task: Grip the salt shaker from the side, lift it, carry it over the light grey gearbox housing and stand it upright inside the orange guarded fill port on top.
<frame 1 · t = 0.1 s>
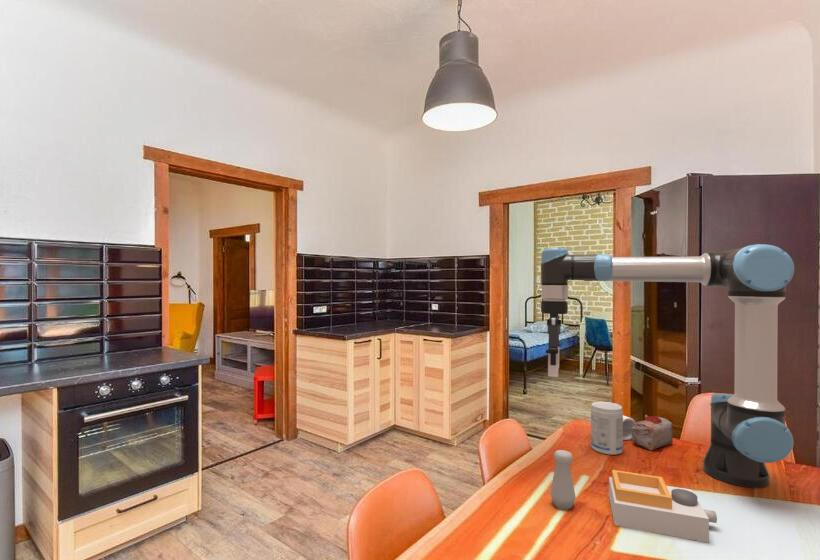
hand: (553, 372, 128), 28 cm above the table, tool pointing down, fingers open, 13 cm apart
supplement tub: (606, 450, 141), on the table
food item: (652, 445, 147), on the table
salt shaker: (562, 506, 106), on the table
mug: (612, 437, 154), on the table
gearbox housing: (654, 517, 101), on the table
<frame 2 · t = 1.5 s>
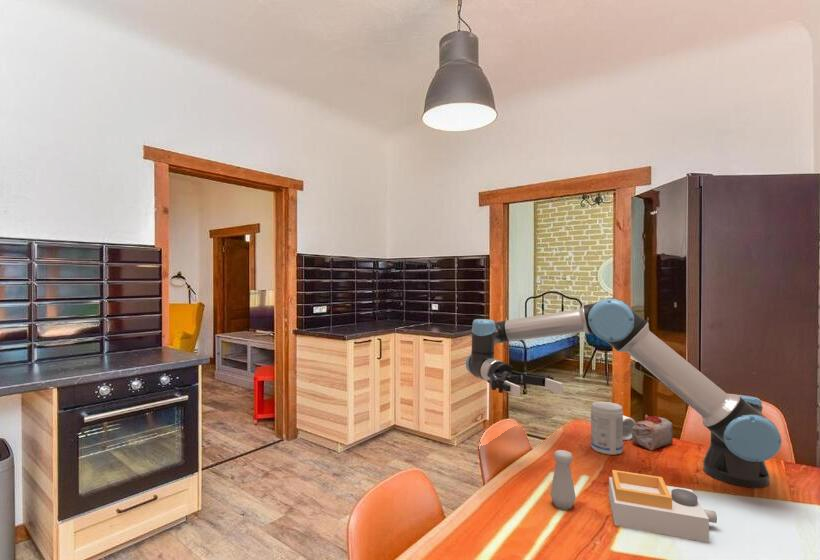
hand: (540, 390, 115), 26 cm above the table, tool horizontal, fingers open, 13 cm apart
nothing on the table moved.
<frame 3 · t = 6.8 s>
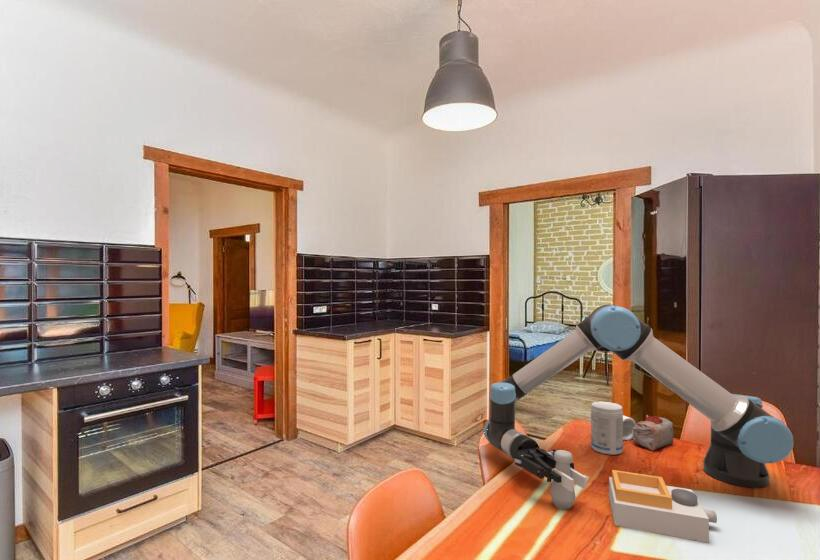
hand: (578, 484, 100), 7 cm above the table, tool horizontal, fingers closed on salt shaker, 3 cm apart
salt shaker: (562, 505, 106), on the table, touching gripper
everything else where it was.
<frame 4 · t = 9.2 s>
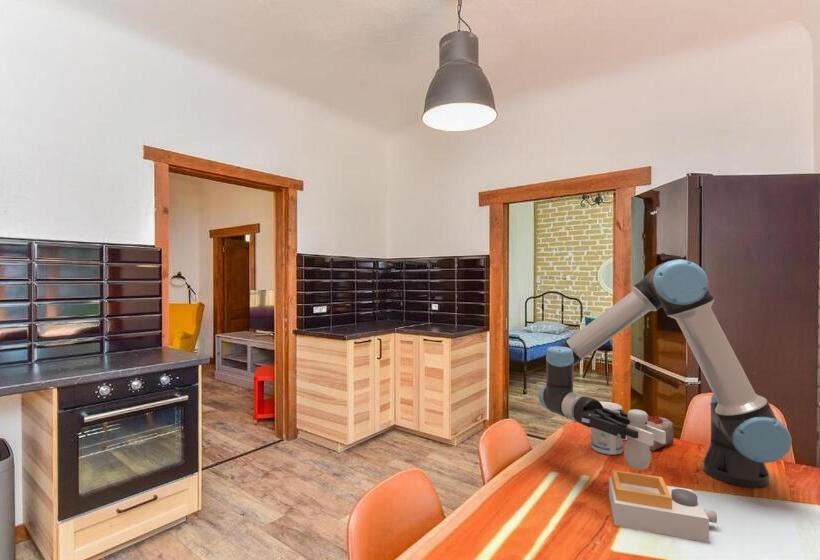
hand: (658, 438, 97), 20 cm above the table, tool horizontal, fingers closed on salt shaker, 3 cm apart
salt shaker: (637, 466, 102), point 11 cm above the table, touching gripper
everything else where it was.
when the fingers open (14 cm above the table, at t = 11.6 s): salt shaker stays where it is, resting on gearbox housing.
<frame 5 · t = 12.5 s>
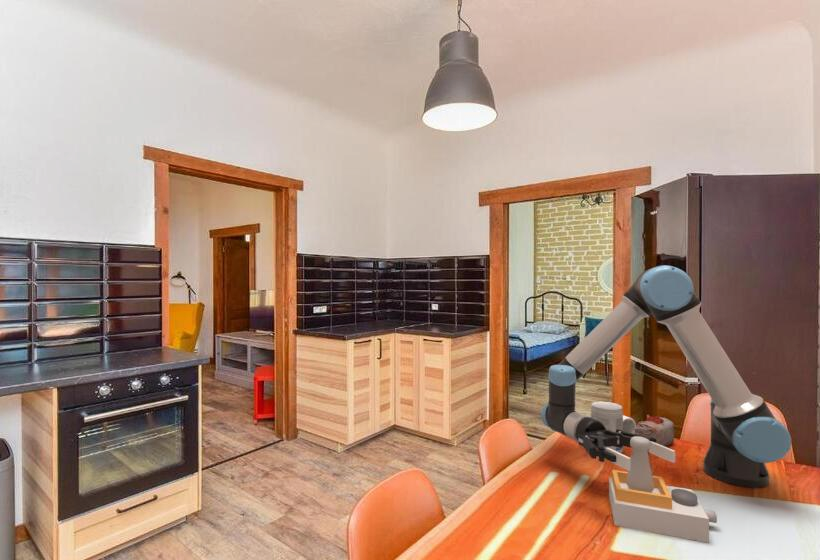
hand: (652, 460, 99), 14 cm above the table, tool horizontal, fingers open, 13 cm apart
salt shaker: (639, 494, 102), point 5 cm above the table, touching gearbox housing
everything else where it was.
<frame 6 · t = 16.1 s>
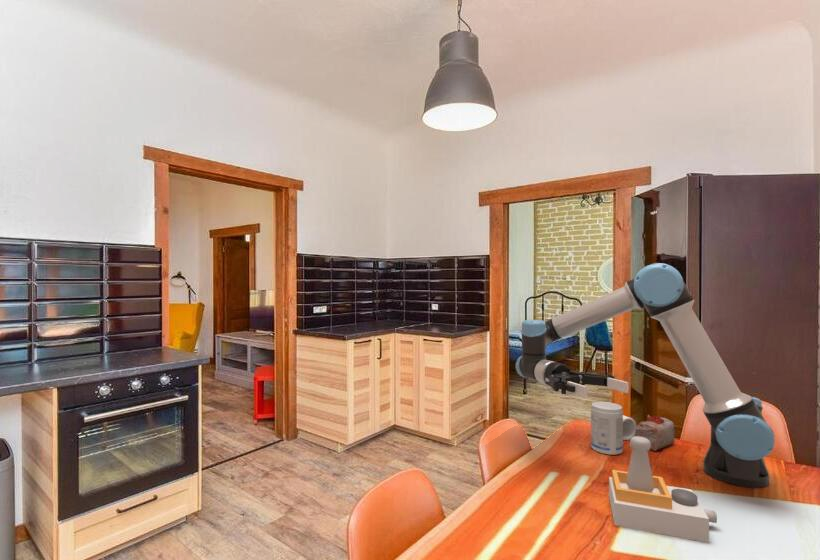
hand: (607, 389, 111), 27 cm above the table, tool horizontal, fingers open, 13 cm apart
nothing on the table moved.
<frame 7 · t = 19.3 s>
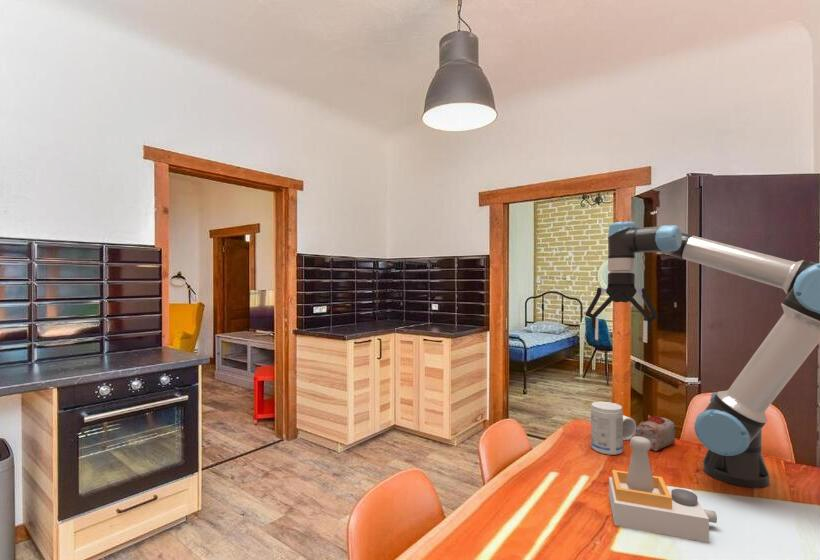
hand: (620, 340, 134), 37 cm above the table, tool pointing down, fingers open, 13 cm apart
nothing on the table moved.
at the end: salt shaker 0.0 cm from the target spot on the gearbox housing, point 4.8 cm above the gearbox housing's base; salt shaker tilted 0°; the gripper is holding nothing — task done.
